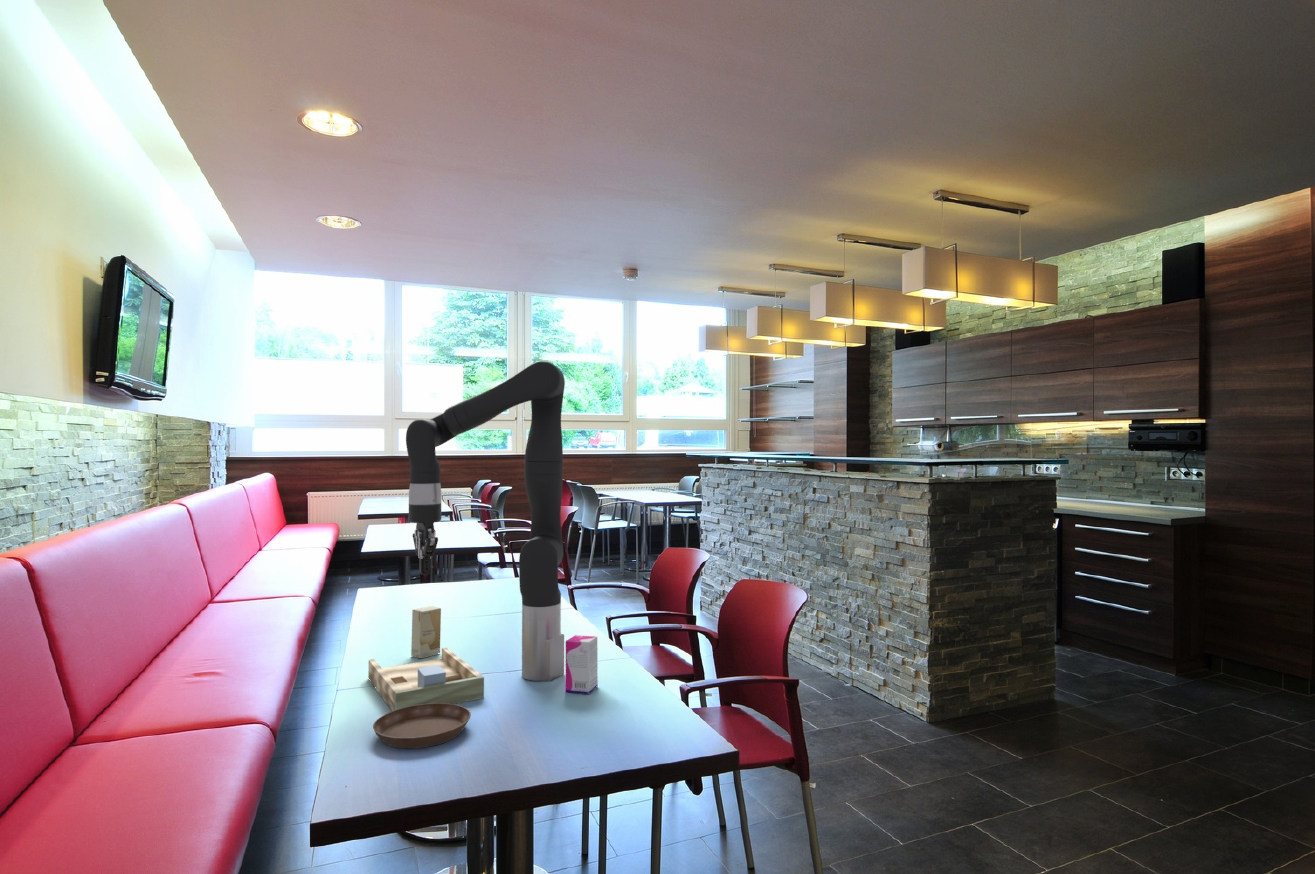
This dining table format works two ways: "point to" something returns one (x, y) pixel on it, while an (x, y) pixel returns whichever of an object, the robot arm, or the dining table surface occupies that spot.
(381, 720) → the plant saucer
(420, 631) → the skincare box
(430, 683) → the block
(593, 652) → the supplement box
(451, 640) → the dining table surface
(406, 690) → the channel
